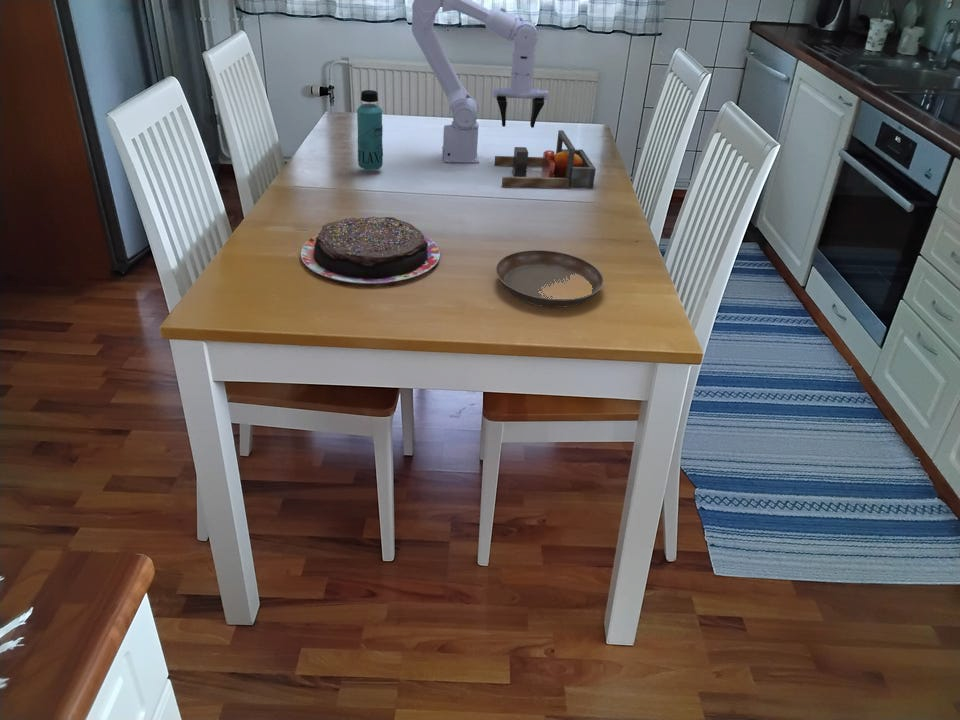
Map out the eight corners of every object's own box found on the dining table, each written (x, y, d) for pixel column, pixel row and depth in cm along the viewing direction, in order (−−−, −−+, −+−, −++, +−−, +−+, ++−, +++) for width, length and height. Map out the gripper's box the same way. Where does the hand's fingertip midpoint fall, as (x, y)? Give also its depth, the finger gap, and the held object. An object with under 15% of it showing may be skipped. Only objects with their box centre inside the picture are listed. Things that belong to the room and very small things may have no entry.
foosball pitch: (502, 187, 189) (505, 147, 183) (494, 164, 203) (497, 127, 198) (593, 189, 192) (599, 150, 186) (579, 166, 206) (584, 130, 200)
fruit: (545, 176, 194) (552, 145, 193) (550, 183, 201) (557, 153, 201) (575, 181, 191) (582, 150, 191) (579, 188, 199) (586, 158, 199)
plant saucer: (613, 279, 150) (616, 264, 148) (583, 325, 134) (585, 308, 132) (517, 256, 156) (519, 241, 154) (477, 297, 140) (478, 281, 138)
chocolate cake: (373, 219, 168) (373, 191, 165) (468, 258, 154) (470, 228, 150) (271, 256, 150) (268, 225, 146) (368, 305, 135) (367, 272, 132)
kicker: (516, 182, 192) (518, 155, 188) (510, 169, 201) (512, 143, 197) (555, 183, 194) (558, 156, 190) (548, 170, 202) (551, 144, 198)
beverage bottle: (353, 173, 191) (351, 92, 180) (363, 165, 196) (361, 86, 185) (378, 177, 190) (376, 95, 179) (387, 169, 195) (386, 89, 184)
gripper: (495, 75, 189) (492, 129, 196) (552, 77, 190) (546, 131, 198) (493, 68, 195) (489, 121, 202) (548, 71, 196) (542, 123, 204)
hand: (517, 126), depth 200 cm, fingers open, 7 cm apart
